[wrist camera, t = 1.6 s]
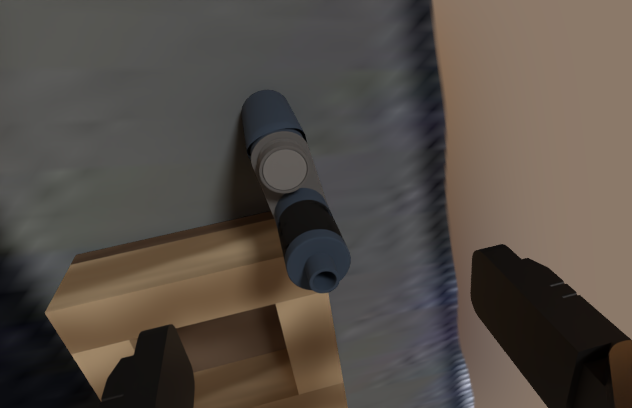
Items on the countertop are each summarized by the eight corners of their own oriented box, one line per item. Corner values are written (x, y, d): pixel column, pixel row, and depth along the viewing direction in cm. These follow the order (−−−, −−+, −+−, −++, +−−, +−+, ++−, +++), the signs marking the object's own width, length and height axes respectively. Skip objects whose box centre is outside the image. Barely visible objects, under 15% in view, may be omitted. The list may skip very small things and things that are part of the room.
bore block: (75, 255, 25) (44, 313, 20) (304, 203, 26) (320, 247, 22) (154, 401, 32) (143, 467, 27) (331, 354, 33) (348, 410, 29)
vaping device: (267, 178, 25) (299, 320, 14) (234, 95, 22) (244, 195, 12) (308, 164, 25) (368, 294, 15) (279, 79, 22) (329, 165, 12)
